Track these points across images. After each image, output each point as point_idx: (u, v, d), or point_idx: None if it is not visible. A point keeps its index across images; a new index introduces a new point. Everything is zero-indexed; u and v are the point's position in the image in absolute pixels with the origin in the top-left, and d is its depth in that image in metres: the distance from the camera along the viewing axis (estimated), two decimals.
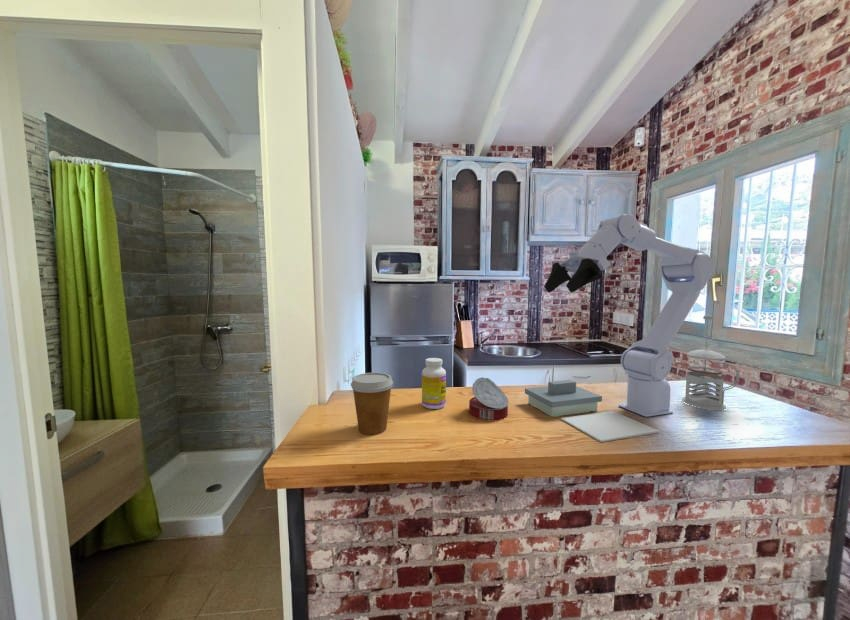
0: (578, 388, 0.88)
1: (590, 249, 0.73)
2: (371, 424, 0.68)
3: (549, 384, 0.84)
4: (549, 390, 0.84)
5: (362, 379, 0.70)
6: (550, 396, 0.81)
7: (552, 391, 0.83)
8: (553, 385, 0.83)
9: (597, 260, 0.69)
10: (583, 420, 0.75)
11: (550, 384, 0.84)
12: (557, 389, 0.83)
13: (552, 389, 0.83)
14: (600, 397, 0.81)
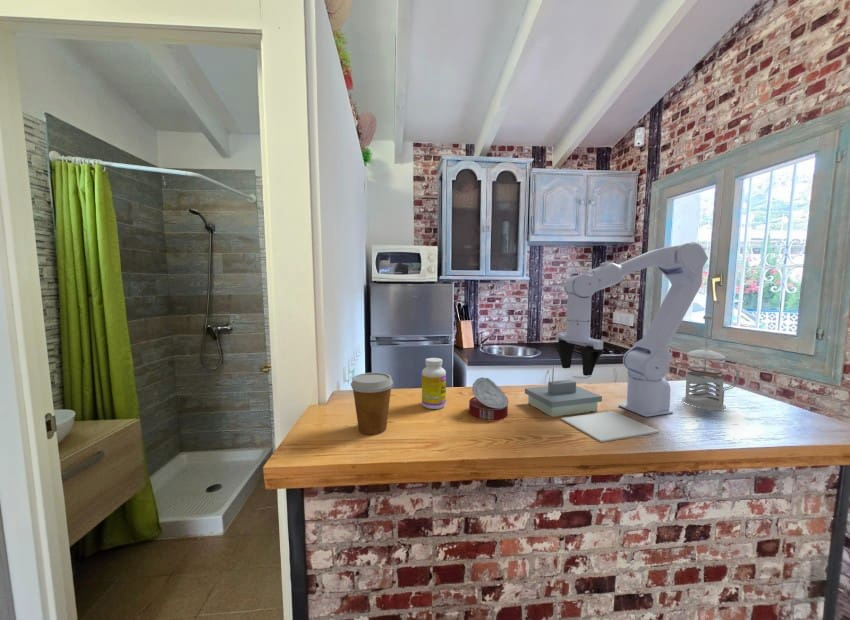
0: (578, 388, 0.88)
1: (576, 329, 0.80)
2: (371, 424, 0.68)
3: (549, 384, 0.84)
4: (549, 390, 0.84)
5: (362, 379, 0.70)
6: (550, 396, 0.81)
7: (552, 391, 0.83)
8: (553, 385, 0.83)
9: (591, 343, 0.77)
10: (583, 420, 0.75)
11: (550, 384, 0.84)
12: (557, 389, 0.83)
13: (552, 389, 0.83)
14: (600, 397, 0.81)
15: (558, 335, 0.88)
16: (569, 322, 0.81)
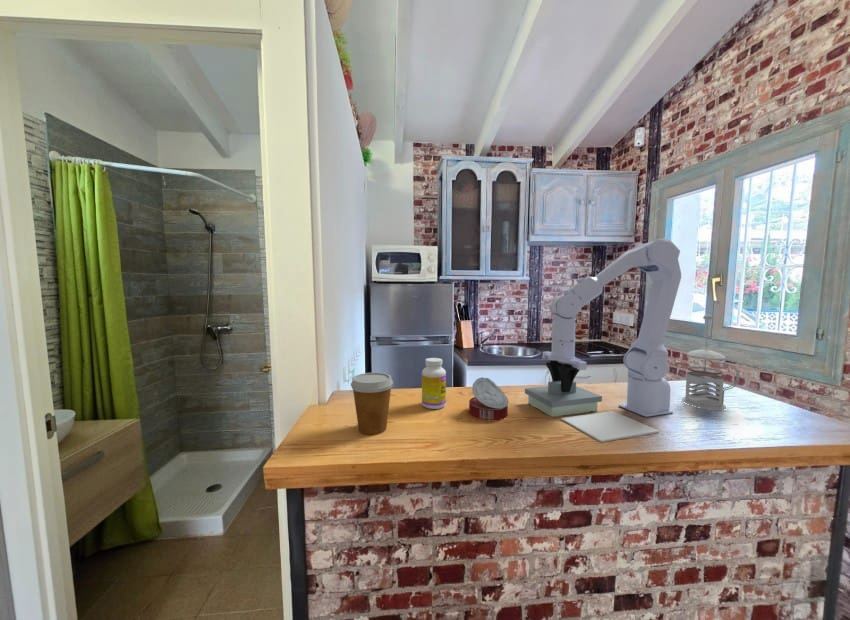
0: (578, 388, 0.88)
1: (561, 349, 0.81)
2: (371, 424, 0.68)
3: (549, 384, 0.84)
4: (549, 390, 0.84)
5: (362, 379, 0.70)
6: (550, 396, 0.81)
7: (552, 391, 0.83)
8: (553, 385, 0.83)
9: (575, 364, 0.78)
10: (583, 420, 0.75)
11: (550, 384, 0.84)
12: (557, 389, 0.83)
13: (552, 389, 0.83)
14: (600, 397, 0.81)
15: (544, 353, 0.89)
16: (554, 342, 0.83)
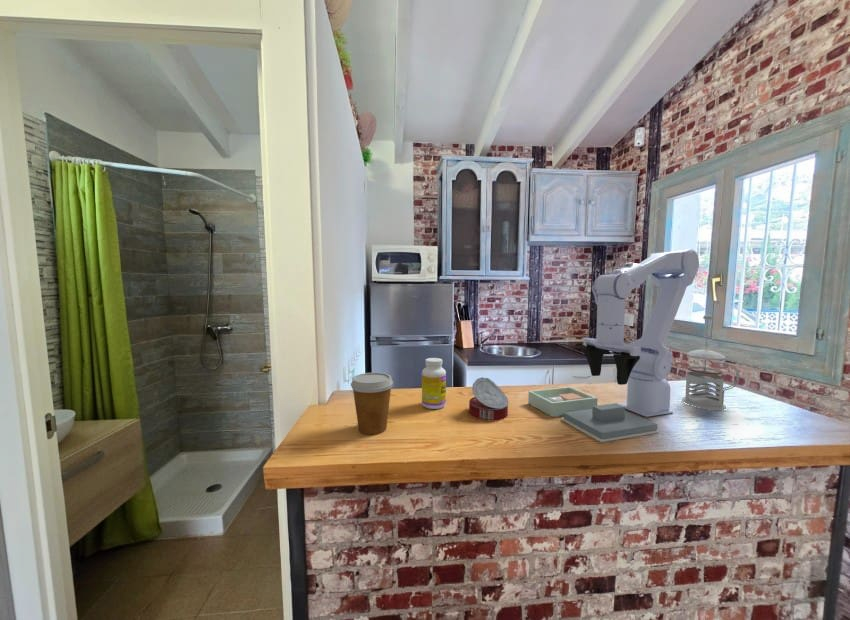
0: (625, 412, 0.76)
1: (609, 333, 0.73)
2: (371, 424, 0.68)
3: (594, 409, 0.72)
4: (594, 416, 0.72)
5: (362, 379, 0.70)
6: (597, 424, 0.69)
7: (598, 417, 0.71)
8: (599, 411, 0.71)
9: (627, 349, 0.70)
10: None
11: (595, 409, 0.72)
12: (604, 415, 0.71)
13: (598, 415, 0.71)
14: (655, 425, 0.69)
15: (586, 340, 0.81)
16: (600, 326, 0.74)
